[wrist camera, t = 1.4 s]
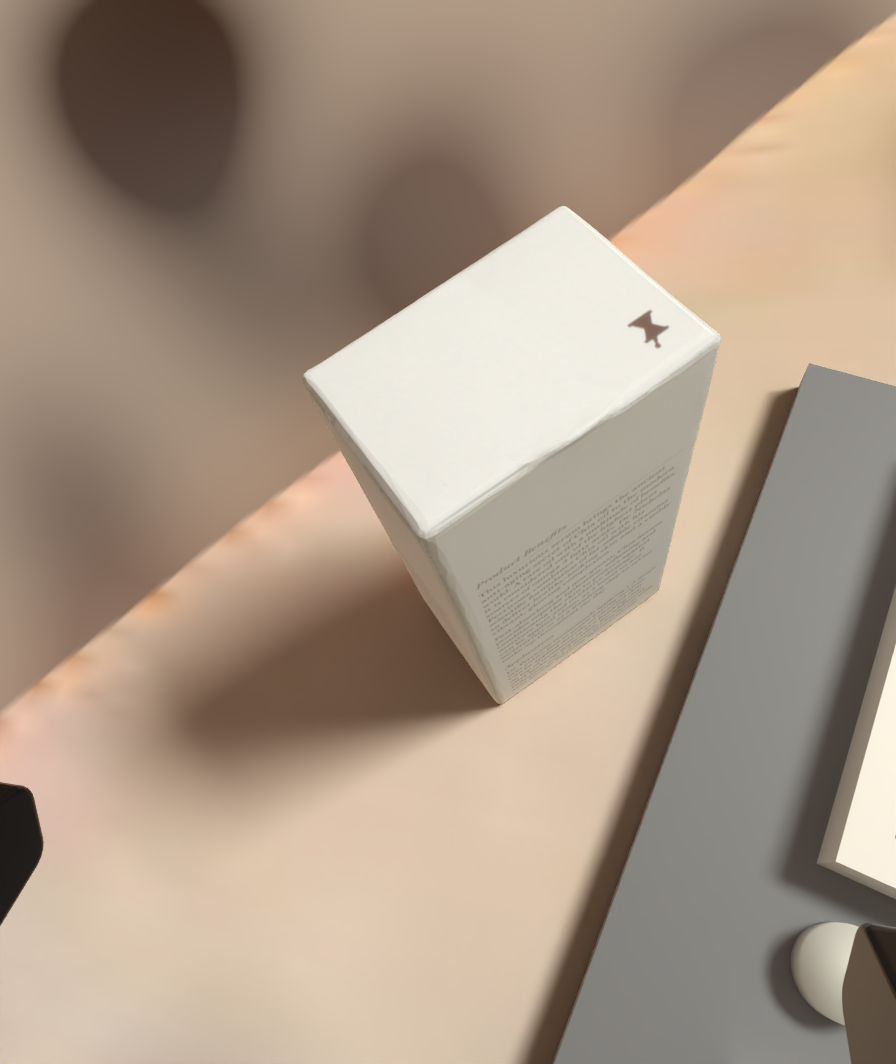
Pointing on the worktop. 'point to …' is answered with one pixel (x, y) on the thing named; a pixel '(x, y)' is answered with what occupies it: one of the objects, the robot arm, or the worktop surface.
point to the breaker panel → (769, 775)
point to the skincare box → (527, 441)
